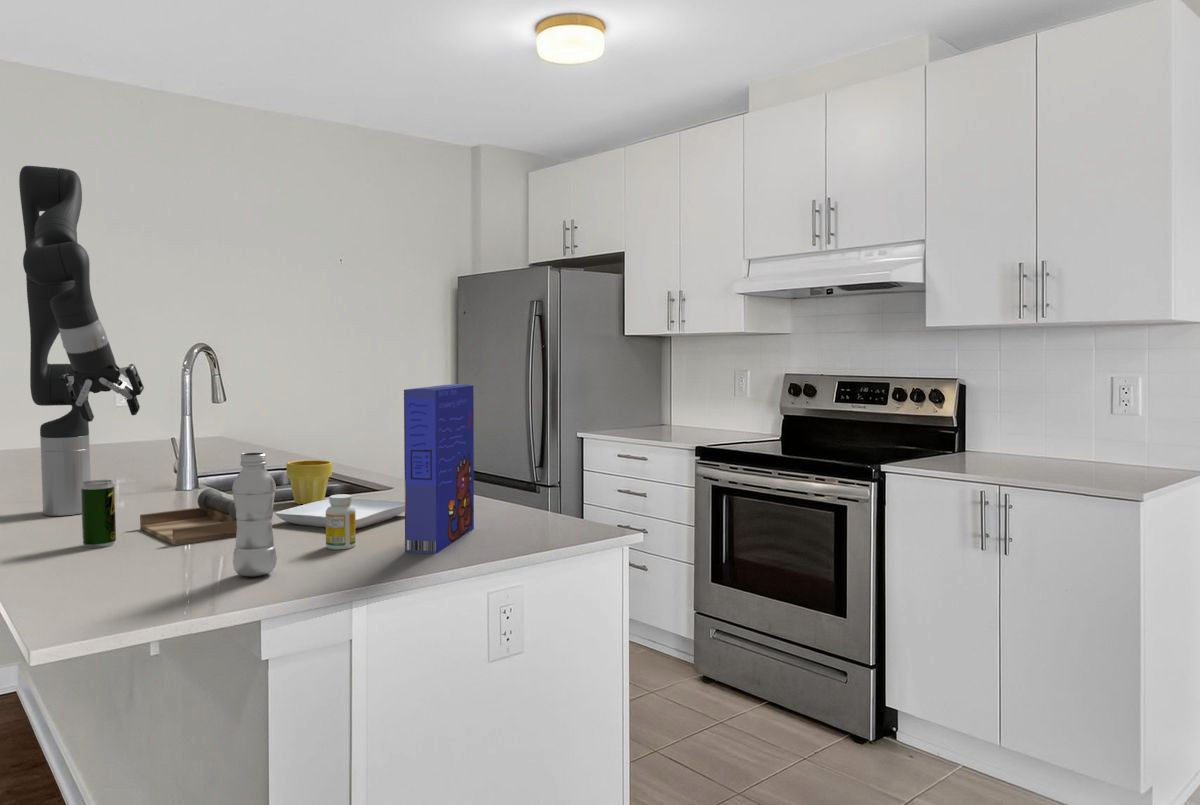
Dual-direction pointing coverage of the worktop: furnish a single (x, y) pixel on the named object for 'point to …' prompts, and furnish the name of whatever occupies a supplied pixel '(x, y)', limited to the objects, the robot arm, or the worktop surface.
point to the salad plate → (364, 508)
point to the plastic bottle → (254, 517)
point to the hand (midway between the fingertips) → (112, 416)
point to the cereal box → (438, 466)
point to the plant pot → (309, 479)
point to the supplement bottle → (340, 523)
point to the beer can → (98, 513)
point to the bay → (194, 521)
